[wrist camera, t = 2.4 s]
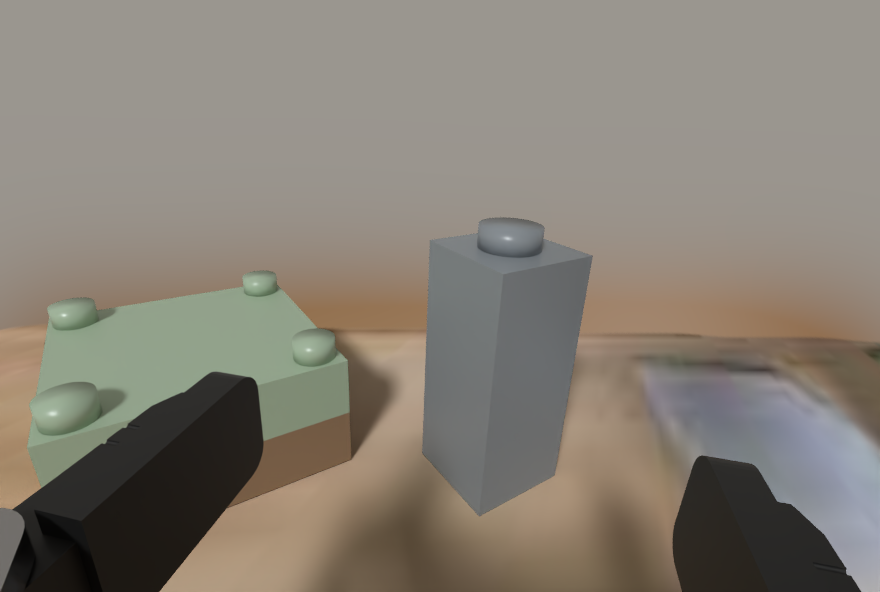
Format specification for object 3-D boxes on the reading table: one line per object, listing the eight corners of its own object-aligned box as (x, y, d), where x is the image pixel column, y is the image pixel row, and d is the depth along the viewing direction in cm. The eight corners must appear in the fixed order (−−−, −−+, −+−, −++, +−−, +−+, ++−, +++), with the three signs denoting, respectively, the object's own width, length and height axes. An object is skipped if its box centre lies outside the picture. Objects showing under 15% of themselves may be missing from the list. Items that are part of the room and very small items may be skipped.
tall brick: (492, 423, 29) (515, 208, 24) (554, 475, 25) (596, 232, 20) (422, 452, 26) (430, 218, 21) (479, 516, 22) (505, 248, 17)
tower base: (282, 359, 34) (273, 267, 32) (351, 459, 25) (347, 342, 23) (76, 410, 28) (44, 301, 25) (70, 568, 19) (18, 424, 16)
